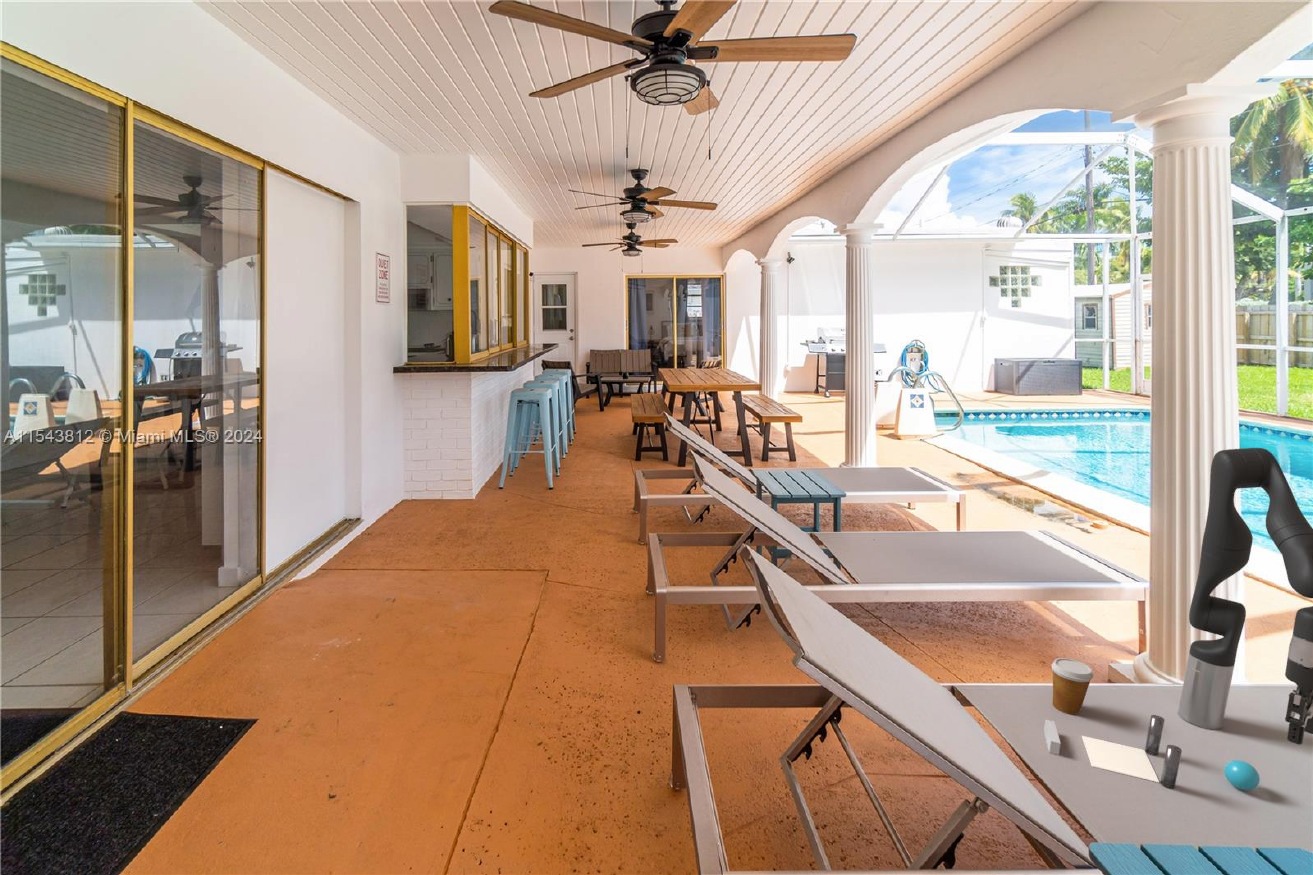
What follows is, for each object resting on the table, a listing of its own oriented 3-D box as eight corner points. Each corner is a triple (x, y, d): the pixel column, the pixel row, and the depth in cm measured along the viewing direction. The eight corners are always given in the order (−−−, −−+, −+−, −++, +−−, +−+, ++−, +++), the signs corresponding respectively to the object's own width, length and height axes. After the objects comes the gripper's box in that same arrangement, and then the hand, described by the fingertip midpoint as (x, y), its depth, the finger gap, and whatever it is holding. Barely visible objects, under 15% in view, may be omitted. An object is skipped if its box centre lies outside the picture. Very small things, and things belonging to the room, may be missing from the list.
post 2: (1158, 780, 155) (1165, 743, 154) (1172, 783, 154) (1179, 746, 153) (1162, 787, 153) (1169, 750, 151) (1176, 790, 152) (1183, 753, 150)
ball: (1217, 775, 158) (1222, 751, 157) (1250, 783, 156) (1255, 759, 155) (1227, 791, 152) (1232, 766, 151) (1261, 799, 150) (1267, 774, 149)
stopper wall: (1043, 730, 173) (1045, 719, 172) (1052, 732, 172) (1054, 721, 171) (1049, 752, 164) (1051, 741, 163) (1058, 755, 163) (1060, 743, 162)
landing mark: (1081, 736, 171) (1081, 735, 171) (1144, 750, 166) (1144, 750, 166) (1091, 766, 159) (1092, 765, 159) (1159, 783, 154) (1159, 782, 154)
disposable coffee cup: (1093, 720, 178) (1100, 677, 176) (1053, 714, 180) (1059, 672, 178) (1078, 701, 188) (1085, 659, 186) (1040, 695, 189) (1046, 655, 187)
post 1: (1143, 747, 167) (1149, 713, 166) (1156, 750, 166) (1162, 716, 165) (1146, 754, 165) (1152, 719, 163) (1159, 756, 164) (1165, 722, 162)
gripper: (1300, 648, 147) (1289, 721, 148) (1276, 660, 139) (1265, 737, 141) (1348, 661, 141) (1336, 737, 142) (1327, 675, 133) (1315, 755, 134)
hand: (1301, 737), depth 141 cm, fingers open, 8 cm apart
